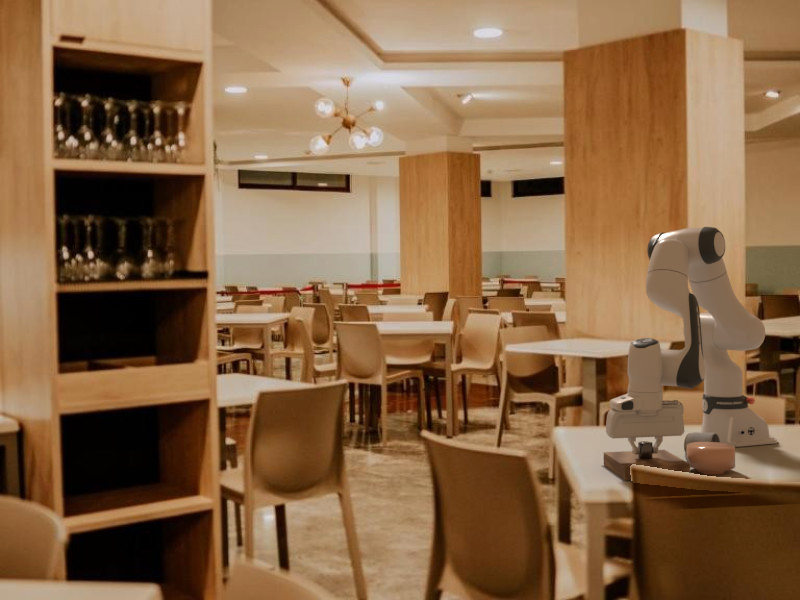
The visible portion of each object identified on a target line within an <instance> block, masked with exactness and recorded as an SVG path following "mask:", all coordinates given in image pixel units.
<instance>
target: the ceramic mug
mask: <svg viewBox="0 0 800 600" xmlns="http://www.w3.org/2000/svg"><path fill="white" fill-rule="evenodd" d="M683 442H684V443H683V450H684V458H685V460H686V461H687V444H689V443H694V442H718V443H720V438H719V436H718V434H717V433H701V432H699V431H698V432H694V431H693V432H689V433H688V434H686V436H685V437H684V441H683Z"/></svg>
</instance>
